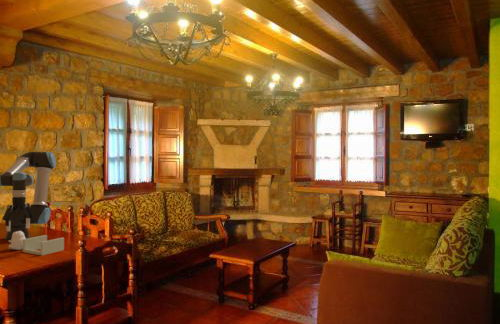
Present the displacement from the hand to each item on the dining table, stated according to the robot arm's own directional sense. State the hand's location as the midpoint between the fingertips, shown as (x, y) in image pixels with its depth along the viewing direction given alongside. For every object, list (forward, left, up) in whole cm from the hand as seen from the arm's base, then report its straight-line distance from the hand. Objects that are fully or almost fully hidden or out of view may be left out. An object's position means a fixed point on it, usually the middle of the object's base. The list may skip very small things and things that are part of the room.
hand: (18, 229), depth 262 cm
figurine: (0, 0, -13) cm, 13 cm away
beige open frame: (+17, +5, -13) cm, 22 cm away
